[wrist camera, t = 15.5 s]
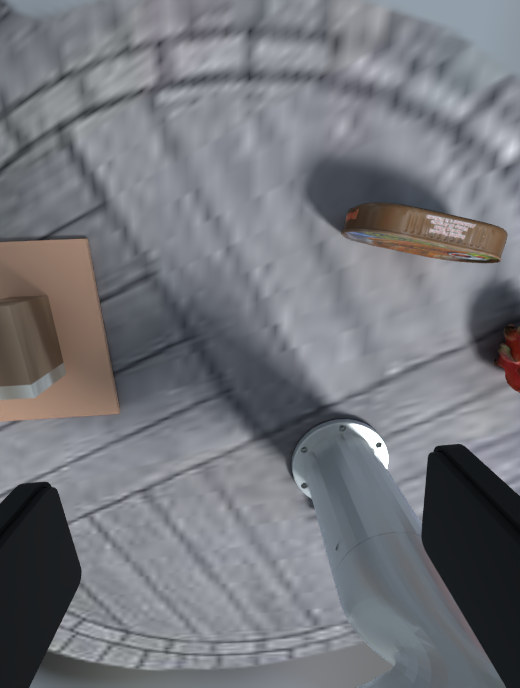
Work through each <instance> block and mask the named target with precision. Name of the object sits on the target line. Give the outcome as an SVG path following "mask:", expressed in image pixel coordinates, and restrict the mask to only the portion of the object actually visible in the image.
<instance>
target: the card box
mask: <svg viewBox="0 0 520 688" xmlns="http://www.w3.org/2000/svg"><path fill="white" fill-rule="evenodd" d="M64 375H66V370H65V366H64V362H63V358H62V353H61V349H60V345H59V341H58V337H57V332H56V328H55V324H54V320H53V315H52V311H51V307H50V303H49V299H48V295H44V296H23V297H8V298H3V299H0V400H10V399H27V398H35V397H37V396H38V395H39V394H41V393H42V392H43V391H45V390H46V389H47V388H49V387H50V386H51V385H53V384H54V383H55V382H57V381H58V380H59V379H61V378H62V377H63V376H64Z"/></svg>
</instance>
